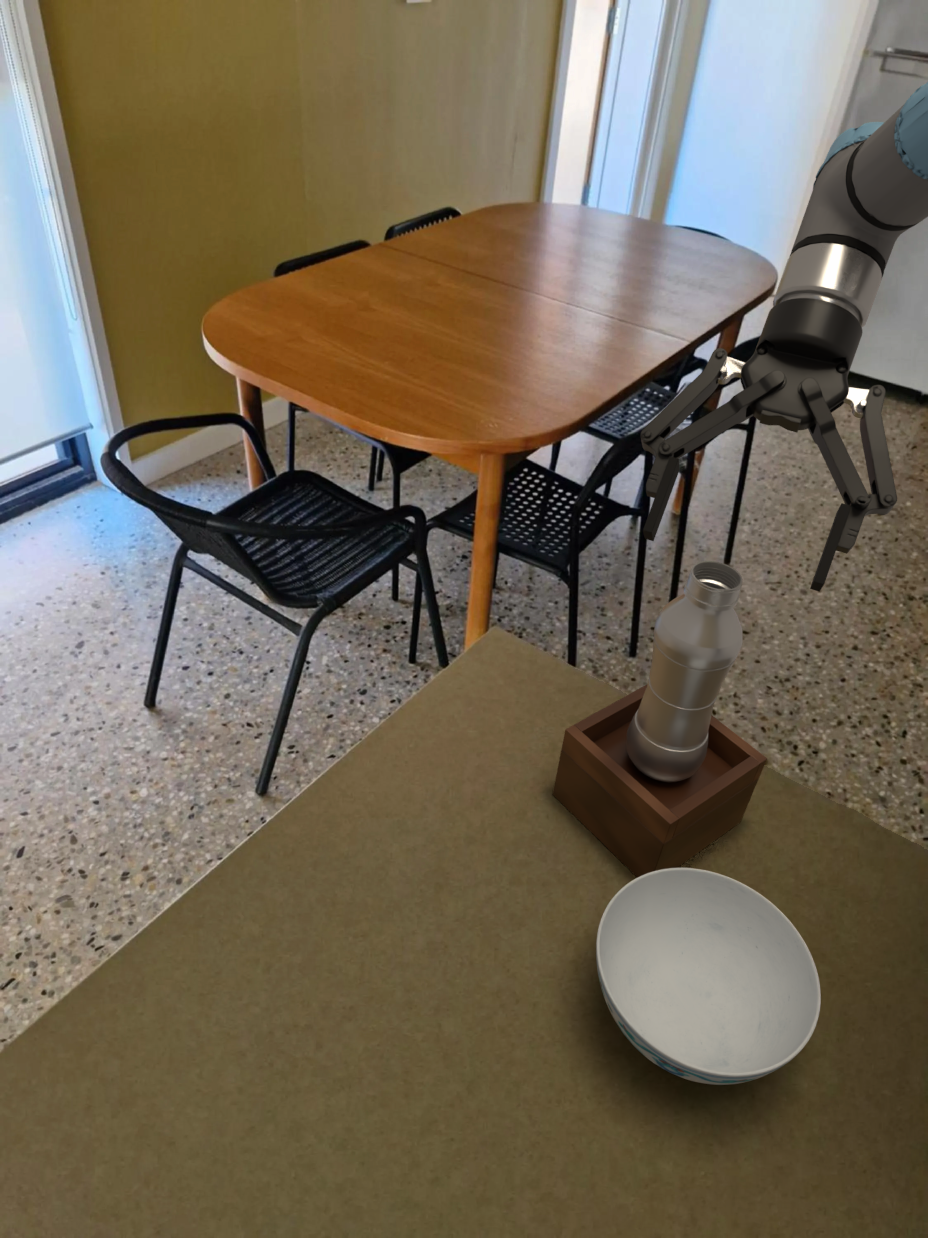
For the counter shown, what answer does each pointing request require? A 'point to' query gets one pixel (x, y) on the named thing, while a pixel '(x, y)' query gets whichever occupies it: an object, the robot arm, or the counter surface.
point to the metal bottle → (687, 674)
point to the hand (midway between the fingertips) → (729, 561)
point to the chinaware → (706, 976)
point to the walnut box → (652, 790)
